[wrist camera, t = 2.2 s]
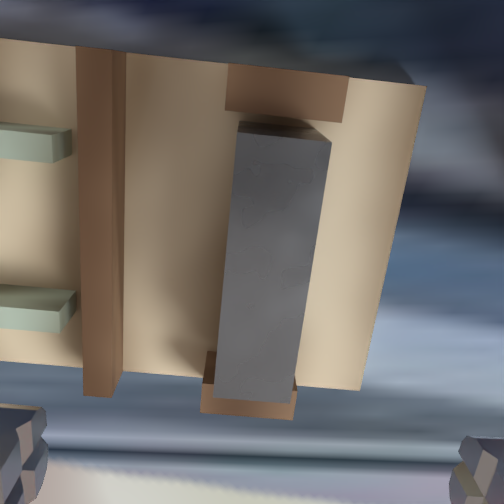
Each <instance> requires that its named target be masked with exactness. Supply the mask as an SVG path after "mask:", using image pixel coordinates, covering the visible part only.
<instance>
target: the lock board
mask: <svg viewBox="0 0 504 504" xmlns="http://www.w3.org/2000/svg"><path fill="white" fill-rule="evenodd" d="M349 77H350V76H342V75H333V74H324V73H315V72H306V71H297V70H288V69H279V68H271V67H262V66H253V65H244V64H235V63H228V64H225V63H216V62H207V61H198V60H189V59H180V58H171V57H163V56H154V55H145V54H136V53H127V52H121V51H115V50H109V49H100V48H91V47H82V46H75V47H74V46H65V45H56V44H47V43H38V42H29V41H20V40H12V39H3V38H0V361H10V362H22V363H34V364H46V365H58V366H70V367H82V368H83V395H84V396H95V397H107V398H112V395H113V393H114V391H115V388H116V386H117V383H118V381H119V379H120V376H121V374H122V372H123V371H130V372H142V373H154V374H166V375H178V376H190V377H202V378H203V383H202V395H201V407H200V413H210V414H222V415H235V416H247V417H260V418H272V419H285V420H293V415H294V409H295V403H296V397H297V386H296V385H298V386H310V387H322V388H334V389H346V390H358V391H360V387H361V382H362V378H363V373H364V369H365V364H366V360H367V355H368V351H369V346H370V342H371V337H372V333H373V328H374V324H375V319H376V315H377V310H378V305H379V301H380V296H381V292H382V287H383V283H384V278H385V274H386V269H387V265H388V260H389V256H390V251H391V247H392V242H393V237H394V233H395V228H396V224H397V219H398V215H399V210H400V206H401V201H402V197H403V192H404V188H405V183H406V179H407V174H408V170H409V165H410V160H411V156H412V151H413V147H414V142H415V138H416V133H417V129H418V124H419V120H420V115H421V111H422V106H423V102H424V97H425V92H426V88H427V86H420V85H411V84H402V83H394V82H385V81H376V80H367V79H358V78H349ZM239 121H249V122H258V123H267V124H277V125H286V126H295V127H305V128H314V129H316V130H318V131H319V132H320V133H321V134H323V135H324V136H325V137H326V138H327V139H329V140H330V141H331V142H332V147H331V153H330V159H329V166H328V172H327V178H326V184H325V190H324V197H323V203H322V209H321V215H320V221H319V228H318V234H317V240H316V246H315V252H314V259H313V265H312V271H311V277H310V283H309V290H308V296H307V302H306V308H305V315H304V321H303V327H302V333H301V339H300V346H299V352H298V358H297V364H296V370H295V377H294V383H293V389H292V395H291V401H290V404H287V403H274V402H262V401H250V400H238V399H225V398H213V390H214V379H215V368H216V357H217V346H218V335H219V324H220V313H221V302H222V291H223V280H224V269H225V258H226V247H227V237H228V226H229V215H230V204H231V193H232V182H233V171H234V160H235V149H236V138H237V130H238V125H239Z"/></svg>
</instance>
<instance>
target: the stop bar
mask: <svg viewBox="0 0 504 504" xmlns="http://www.w3.org/2000/svg"><path fill="white" fill-rule="evenodd" d="M331 147H332V142H331V141H330V140H329V139H327V138H326V137H325V136H324V135H323V134H321V133H320V132H319V131H318V130H316V129H314V128H305V127H295V126H286V125H277V124H267V123H258V122H249V121H239V125H238V130H237V138H236V149H235V160H234V171H233V182H232V193H231V204H230V215H229V226H228V237H227V247H226V258H225V269H224V280H223V291H222V302H221V313H220V324H219V335H218V346H217V357H216V368H215V379H214V390H213V398H225V399H238V400H250V401H262V402H274V403H287V404H290V401H291V395H292V389H293V383H294V377H295V370H296V364H297V358H298V352H299V346H300V339H301V333H302V327H303V321H304V315H305V308H306V302H307V296H308V290H309V283H310V277H311V271H312V265H313V259H314V252H315V246H316V240H317V234H318V228H319V221H320V215H321V209H322V203H323V197H324V190H325V184H326V178H327V172H328V166H329V159H330V153H331Z"/></svg>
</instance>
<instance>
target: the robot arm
mask: <svg viewBox="0 0 504 504" xmlns="http://www.w3.org/2000/svg"><path fill="white" fill-rule="evenodd" d="M46 426H47V421H46V411H45V410H44V409H43V408H42V407H35V406H24V405H13V404H2V403H0V504H29V503H30V502H32V501H33V500H34V499H36V497H37V495H38V493H39V491H40V489H41V486H42V484H43V480H44V477H45V473H46V469H47V462H48V444H47V443H46V442H45V441H44V439H43V438H42V437H41V435H42V433H43V431H44V430H45V428H46ZM458 452H459V454H460V456H461V458H462V460H463V461H462V462H461V463H460V464H459V465H458V466H456V467H455V468H454V469H453V470H452V474H451V478H450V482H449V493H450V501H451V504H504V438H497V437H480V436H466V437H465V439H464V440H463V441H462V443H461V446H460V449H459V451H458Z"/></svg>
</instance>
